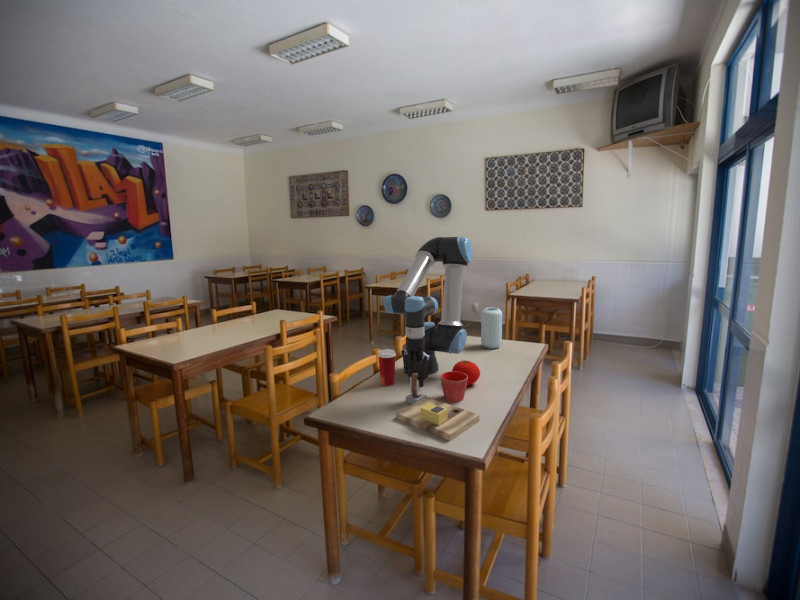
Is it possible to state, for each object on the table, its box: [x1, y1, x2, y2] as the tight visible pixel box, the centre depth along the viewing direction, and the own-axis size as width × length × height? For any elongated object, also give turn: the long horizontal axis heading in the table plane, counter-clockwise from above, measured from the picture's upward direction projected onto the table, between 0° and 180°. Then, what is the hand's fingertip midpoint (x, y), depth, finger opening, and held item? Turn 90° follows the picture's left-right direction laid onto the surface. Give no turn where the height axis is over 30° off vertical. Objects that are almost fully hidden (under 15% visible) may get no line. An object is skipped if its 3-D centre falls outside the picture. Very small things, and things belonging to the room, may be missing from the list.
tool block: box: [405, 393, 428, 405], centre depth 163 cm, size 6×6×2 cm
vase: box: [480, 306, 503, 350], centre depth 230 cm, size 12×12×22 cm
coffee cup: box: [376, 348, 397, 387], centre depth 180 cm, size 8×8×15 cm
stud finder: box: [421, 403, 448, 425], centre depth 142 cm, size 8×5×4 cm, turn 47°
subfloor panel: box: [395, 396, 480, 442], centre depth 147 cm, size 24×18×2 cm
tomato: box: [451, 359, 481, 386], centre depth 179 cm, size 11×12×10 cm
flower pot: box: [439, 370, 468, 403], centre depth 164 cm, size 11×11×10 cm
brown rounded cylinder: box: [411, 373, 421, 398], centre depth 162 cm, size 3×3×11 cm
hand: (416, 392), depth 162 cm, fingers closed on brown rounded cylinder, 3 cm apart
